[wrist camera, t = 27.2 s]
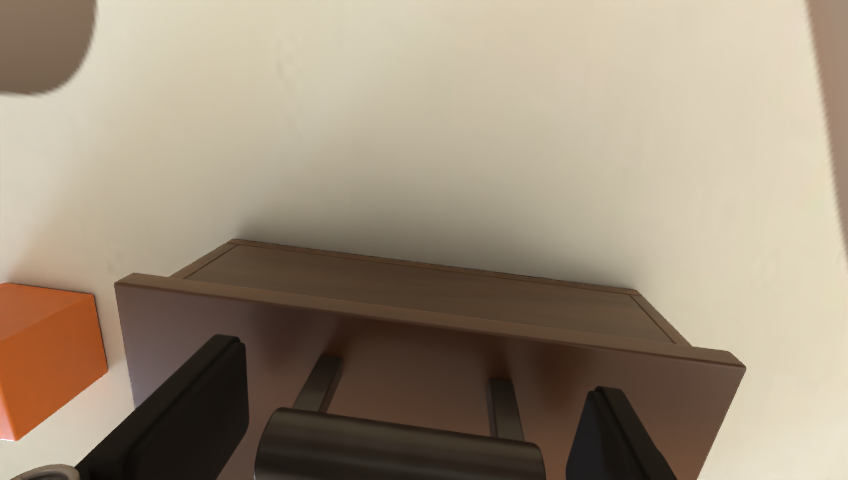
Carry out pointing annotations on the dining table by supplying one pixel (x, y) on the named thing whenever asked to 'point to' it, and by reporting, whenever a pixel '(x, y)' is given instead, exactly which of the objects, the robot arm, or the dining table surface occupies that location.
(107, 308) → the dining table surface
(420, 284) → the chest
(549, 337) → the lid
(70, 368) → the block
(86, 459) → the robot arm
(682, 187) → the dining table surface
